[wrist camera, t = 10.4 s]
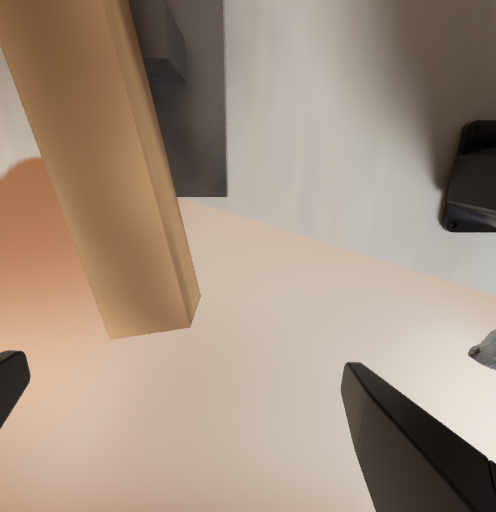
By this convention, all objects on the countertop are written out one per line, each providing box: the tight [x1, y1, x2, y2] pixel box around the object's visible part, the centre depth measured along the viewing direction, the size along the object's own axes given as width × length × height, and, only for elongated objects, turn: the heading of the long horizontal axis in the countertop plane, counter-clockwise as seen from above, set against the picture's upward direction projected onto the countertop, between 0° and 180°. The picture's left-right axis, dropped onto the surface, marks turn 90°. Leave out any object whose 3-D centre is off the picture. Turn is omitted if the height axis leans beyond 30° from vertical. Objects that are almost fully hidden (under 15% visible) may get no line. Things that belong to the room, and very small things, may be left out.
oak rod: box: [0, 0, 201, 339], centre depth 10 cm, size 4×24×3 cm, turn 10°
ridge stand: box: [128, 0, 228, 197], centre depth 14 cm, size 10×14×5 cm
